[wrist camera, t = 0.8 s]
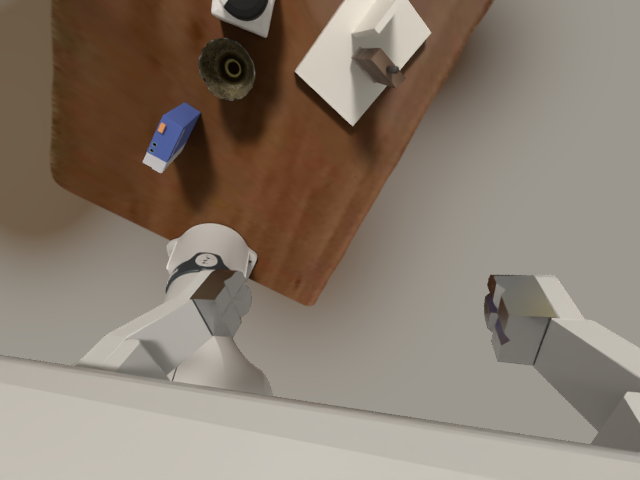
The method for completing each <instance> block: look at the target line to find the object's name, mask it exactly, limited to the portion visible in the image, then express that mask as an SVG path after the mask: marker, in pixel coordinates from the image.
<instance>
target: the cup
mask: <svg viewBox="0 0 640 480" xmlns="http://www.w3.org/2000/svg"><path fill="white" fill-rule="evenodd" d="M231 62H235V63H236V64H237V65H238V67H239V71H238V73H237V74H232V73H231V72H230V71H229V69H228V65H229V64H230V63H231ZM198 66H199V69H200V71H199V74H200V77H201V78H203V79H204V81H205V83H206V84H207V86H208V90H209V91H210V92H211V93H214V94H215V96H217V97H218V98H220V99H224V100H226V99H228V100H230V101H234V100H235V99H237V100H239V99H242V98H243V97H245V96H246V95H247V94H248V93H249V91H250V90H251V89H252V87H253V84H254V81H255V66H254V63H253V61H252V59H251V57H250V55H249V54H248V52H247V50H246V49H245V48H244V47H243V46H242V45H241V44H240V43H238V42H237V41H234V40H230V39H228V38H224V39H221V38H219V39H214V40H212V41H209V42H208V43H207V47H204V48H202V54H201V56H200V57H199V59H198Z"/></svg>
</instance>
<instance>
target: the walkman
mask: <svg viewBox="0 0 640 480" xmlns="http://www.w3.org/2000/svg"><path fill="white" fill-rule="evenodd" d="M200 114H201V112H199V111H198V110H196V109H195V108H193V107H192V106H190V105H188V104H187V103H183V104H181V105H180V106H178V107H176V108H175V109H173V110H171V111H170V112H168V113H166V114H164V115H163V117H162V119H161V121H160V123H159V126H158V128H157V130H156V132H155V135H154V137H153V139H152V141H151V144H150V146H149V148H148V151H147V154H146V156H145V158H144V160H143V163H144V164H146V165H148V166H150V167H152V169H153V170H155V171H157V172H159V173H162V172H163V171H164V170H165V169H166V168H167V167H168V165H170V164H171V163H172V161H173V160H174V159H175V158H176V157H177V156H178V155H179V154H180V153H181V151H182V150H183V148H184V146H185V144H186V142H187V140H188V138H189V136H190V134H191V132H192V130H193V128H194V126H195V124H196V122H197V120H198V118H199V116H200Z"/></svg>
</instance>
